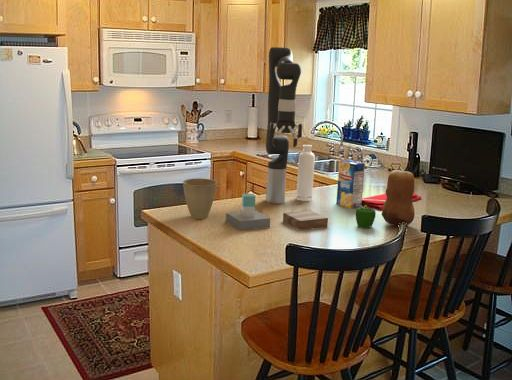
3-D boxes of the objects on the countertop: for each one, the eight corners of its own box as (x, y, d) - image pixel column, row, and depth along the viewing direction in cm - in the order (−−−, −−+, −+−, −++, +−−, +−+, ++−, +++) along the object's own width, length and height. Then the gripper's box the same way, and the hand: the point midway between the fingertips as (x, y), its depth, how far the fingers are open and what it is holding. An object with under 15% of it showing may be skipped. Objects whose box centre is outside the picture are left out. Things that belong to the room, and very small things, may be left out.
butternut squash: (407, 222, 264) (413, 168, 258) (416, 230, 251) (422, 173, 245) (377, 221, 263) (382, 167, 258) (385, 229, 250) (390, 172, 245)
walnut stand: (283, 221, 256) (283, 212, 255) (309, 218, 262) (310, 210, 261) (299, 230, 244) (300, 220, 243) (327, 227, 250) (328, 218, 249)
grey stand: (225, 221, 251) (226, 212, 251) (254, 218, 258) (254, 210, 257) (240, 230, 239) (240, 221, 239) (269, 227, 246) (270, 218, 245)
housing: (242, 217, 245) (243, 196, 243) (241, 213, 250) (242, 193, 248) (254, 217, 246) (255, 196, 244) (252, 213, 251) (253, 193, 249)
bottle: (312, 201, 295) (316, 146, 289) (296, 200, 295) (299, 146, 289) (311, 197, 303) (314, 144, 297) (295, 197, 303) (299, 143, 297)
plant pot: (178, 213, 261) (179, 178, 258) (210, 211, 267) (211, 177, 263) (186, 222, 248) (187, 186, 244) (220, 220, 253) (221, 184, 250)
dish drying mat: (422, 200, 311) (422, 193, 310) (380, 212, 282) (381, 204, 281) (396, 194, 322) (396, 188, 321) (353, 205, 293) (354, 198, 292)
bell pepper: (360, 222, 259) (362, 201, 257) (377, 226, 254) (379, 204, 252) (351, 226, 253) (352, 204, 250) (367, 230, 248) (369, 207, 245)
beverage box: (351, 208, 284) (355, 164, 279) (336, 203, 293) (339, 160, 288) (361, 207, 288) (365, 163, 283) (346, 202, 297) (349, 159, 292)
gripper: (300, 109, 257) (298, 145, 261) (269, 108, 255) (267, 145, 259) (304, 111, 250) (302, 148, 253) (271, 110, 248) (270, 147, 251)
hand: (284, 146), depth 256 cm, fingers open, 8 cm apart
